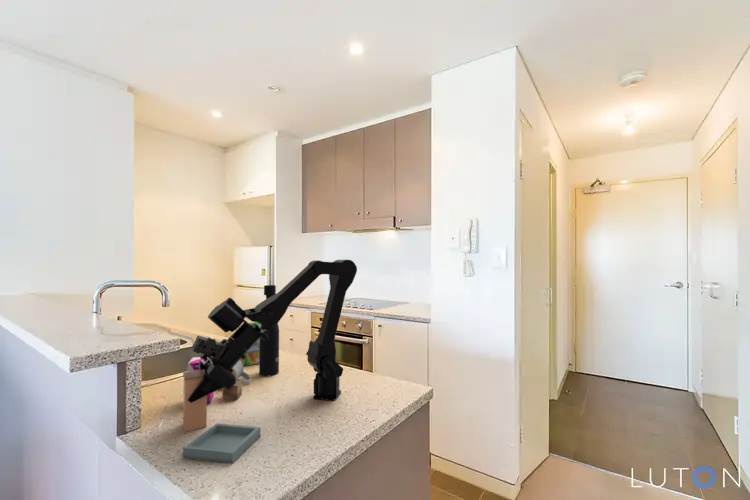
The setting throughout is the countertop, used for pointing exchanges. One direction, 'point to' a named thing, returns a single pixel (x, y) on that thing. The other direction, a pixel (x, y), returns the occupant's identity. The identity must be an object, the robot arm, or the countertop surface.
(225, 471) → the countertop surface
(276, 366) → the wine bottle
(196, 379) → the tan lidded box
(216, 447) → the slate tray
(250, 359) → the chalk box
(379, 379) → the countertop surface
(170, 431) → the countertop surface
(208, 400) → the supplement box
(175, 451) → the countertop surface
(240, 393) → the walnut block
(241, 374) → the ceramic mug
